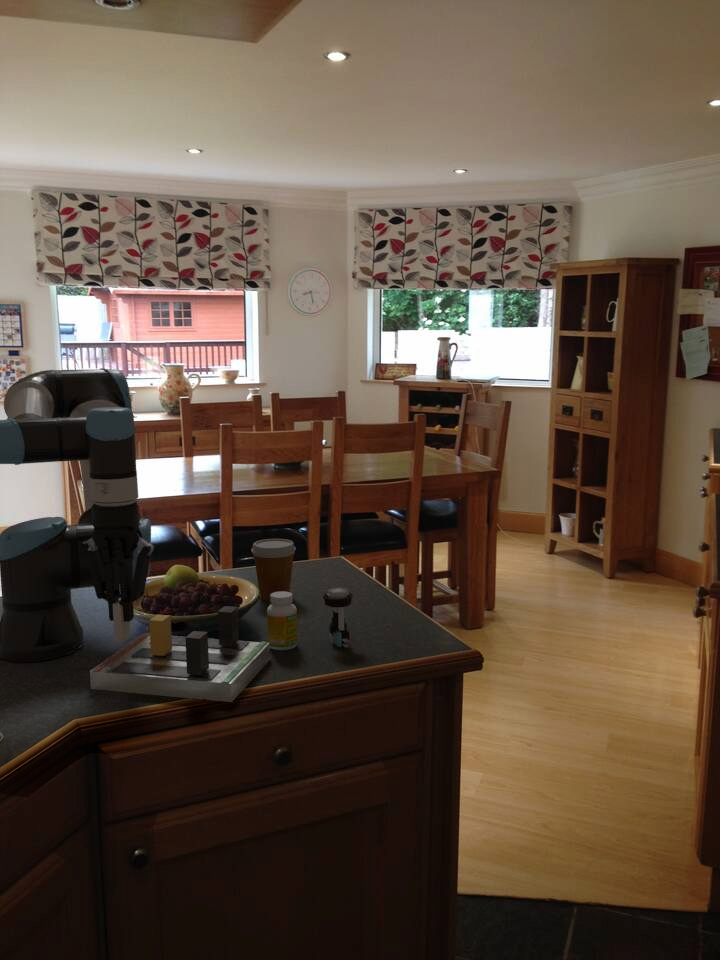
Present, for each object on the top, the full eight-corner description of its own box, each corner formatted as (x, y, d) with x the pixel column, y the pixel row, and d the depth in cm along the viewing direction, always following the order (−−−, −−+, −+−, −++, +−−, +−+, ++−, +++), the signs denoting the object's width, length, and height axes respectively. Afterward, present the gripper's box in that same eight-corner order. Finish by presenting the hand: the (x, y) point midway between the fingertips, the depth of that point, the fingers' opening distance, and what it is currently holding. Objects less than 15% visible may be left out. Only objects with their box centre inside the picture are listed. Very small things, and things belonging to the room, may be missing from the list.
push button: (360, 647, 153) (360, 594, 151) (333, 652, 150) (332, 598, 149) (346, 636, 159) (345, 584, 157) (319, 640, 156) (318, 588, 155)
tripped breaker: (150, 654, 140) (149, 620, 139) (159, 648, 143) (157, 614, 142) (164, 655, 140) (162, 621, 139) (172, 649, 143) (170, 615, 142)
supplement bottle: (289, 652, 150) (288, 600, 149) (262, 649, 152) (261, 597, 151) (302, 642, 155) (301, 591, 154) (275, 639, 157) (274, 588, 156)
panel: (90, 689, 135) (87, 632, 134) (143, 649, 153) (141, 598, 151) (231, 702, 130) (229, 643, 128) (270, 659, 147) (268, 607, 146)
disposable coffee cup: (253, 591, 187) (251, 538, 185) (296, 589, 188) (294, 537, 186) (252, 604, 178) (250, 549, 176) (297, 602, 179) (296, 547, 177)
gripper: (66, 504, 137) (75, 644, 141) (140, 507, 134) (147, 649, 138) (91, 496, 144) (99, 629, 148) (161, 499, 141) (168, 634, 145)
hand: (122, 638), depth 143 cm, fingers closed
